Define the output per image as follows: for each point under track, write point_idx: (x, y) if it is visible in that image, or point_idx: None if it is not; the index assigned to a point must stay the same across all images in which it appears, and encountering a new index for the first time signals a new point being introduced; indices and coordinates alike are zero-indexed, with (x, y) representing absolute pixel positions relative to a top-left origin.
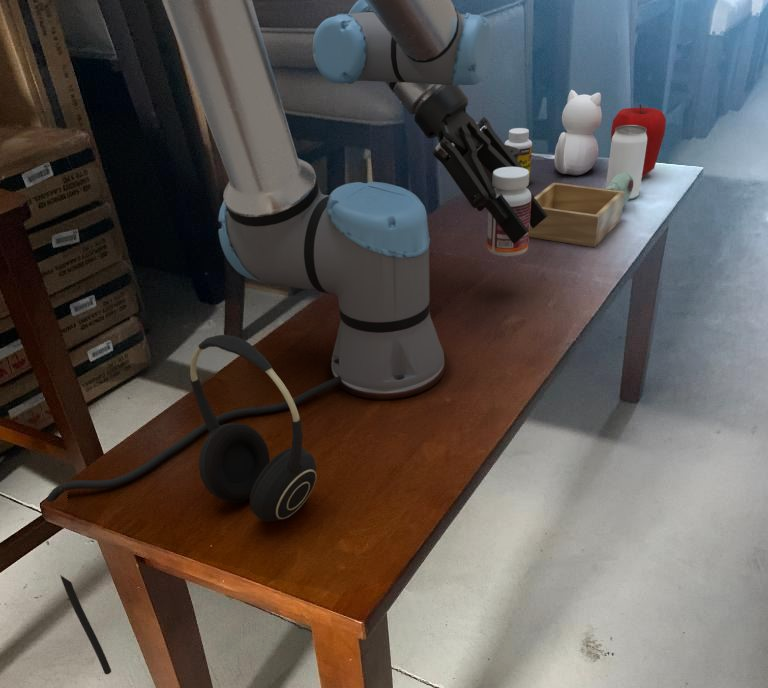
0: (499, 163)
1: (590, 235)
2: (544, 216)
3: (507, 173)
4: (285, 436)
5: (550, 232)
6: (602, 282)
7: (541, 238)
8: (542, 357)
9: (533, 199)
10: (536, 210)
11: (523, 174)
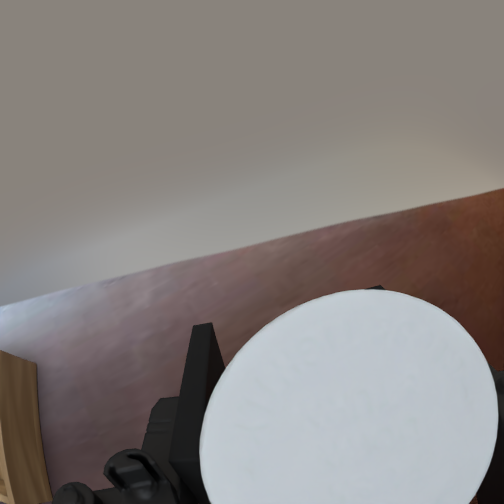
0: None
1: (23, 369)
2: (211, 327)
3: (417, 438)
4: None
5: (33, 447)
6: (150, 286)
7: (44, 463)
8: (425, 222)
9: (200, 372)
10: (213, 357)
11: (364, 309)
